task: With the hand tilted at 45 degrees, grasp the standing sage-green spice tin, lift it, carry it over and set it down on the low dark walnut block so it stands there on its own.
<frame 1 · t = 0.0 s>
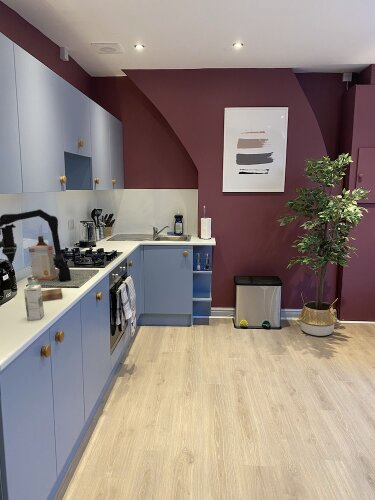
hand: (11, 262, 220), 15 cm above the countertop, tool pointing down, fingers open, 9 cm apart
cracker box: (44, 279, 239), on the countertop
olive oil: (45, 273, 253), on the countertop
walnut block: (52, 297, 198), on the countertop
spice tin: (34, 293, 207), on the countertop
syrup box: (36, 318, 169), on the countertop
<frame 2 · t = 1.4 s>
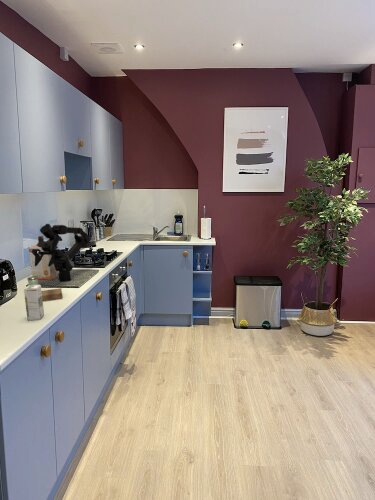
hand: (42, 266, 213), 13 cm above the countertop, tool tilted 45°, fingers open, 9 cm apart
nothing on the countertop moved.
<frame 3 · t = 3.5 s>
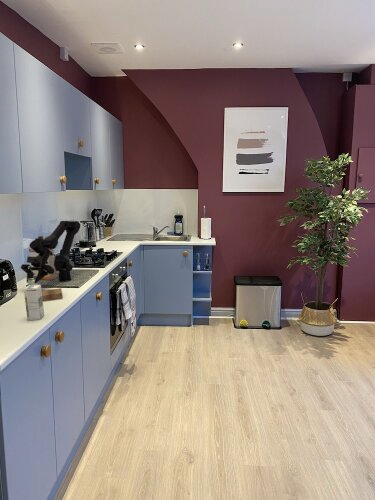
hand: (31, 282, 205), 7 cm above the countertop, tool tilted 45°, fingers closed on spice tin, 5 cm apart
spice tin: (34, 293, 207), on the countertop, touching gripper
everything else where it was.
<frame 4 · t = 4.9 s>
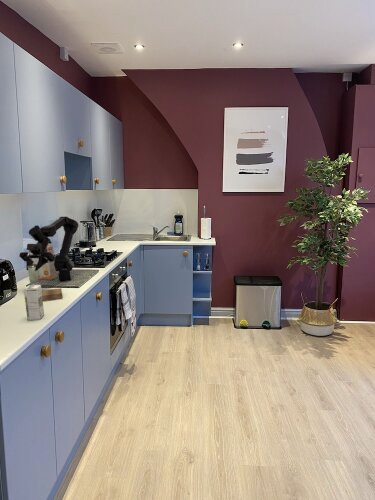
hand: (31, 270, 201), 14 cm above the countertop, tool tilted 45°, fingers closed on spice tin, 5 cm apart
spice tin: (34, 281, 204), point 7 cm above the countertop, touching gripper
everything else where it was.
when the fingers open (11 cm above the countertop, at t = 6.7 s): spice tin drops 1 cm, resting on walnut block.
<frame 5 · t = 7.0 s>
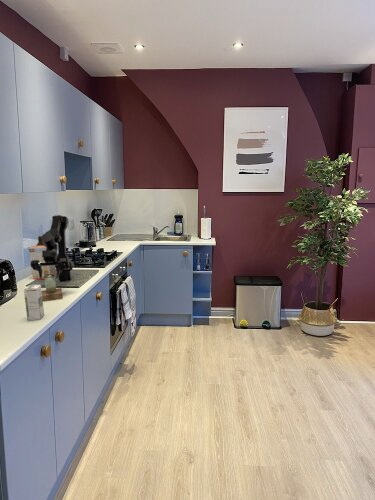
hand: (49, 277, 195), 11 cm above the countertop, tool tilted 45°, fingers open, 8 cm apart
spice tin: (51, 291, 198), point 3 cm above the countertop, touching walnut block
everything else where it was.
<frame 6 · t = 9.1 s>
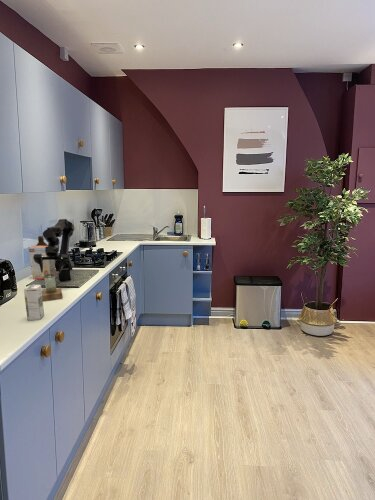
hand: (50, 272, 206), 11 cm above the countertop, tool tilted 40°, fingers open, 9 cm apart
nothing on the countertop moved.
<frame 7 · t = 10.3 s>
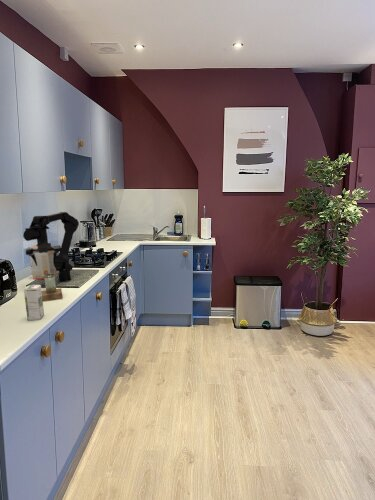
hand: (45, 264, 217), 13 cm above the countertop, tool pointing down, fingers open, 9 cm apart
nothing on the countertop moved.
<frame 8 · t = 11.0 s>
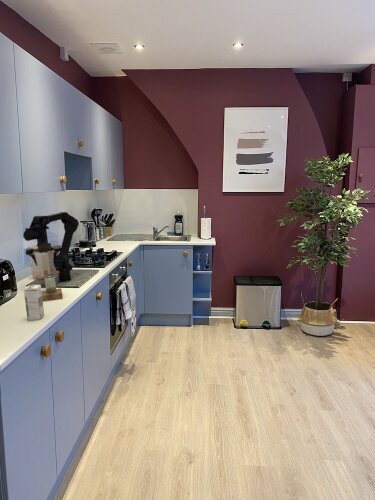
hand: (45, 264, 217), 13 cm above the countertop, tool pointing down, fingers open, 9 cm apart
nothing on the countertop moved.
at the end: spice tin inside the target area on the walnut block (0.1 cm from its centre), point 3.0 cm above the walnut block's base; spice tin tilted 0°; the gripper is holding nothing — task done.
